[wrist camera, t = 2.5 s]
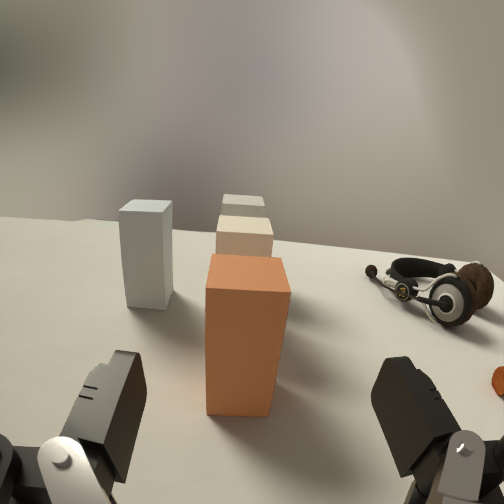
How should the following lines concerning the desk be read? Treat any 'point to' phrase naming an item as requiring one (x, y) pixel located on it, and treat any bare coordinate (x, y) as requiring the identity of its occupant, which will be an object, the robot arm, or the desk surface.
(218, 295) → the rust block
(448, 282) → the headset
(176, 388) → the desk surface
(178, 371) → the desk surface
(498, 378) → the purple maraca
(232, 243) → the cream block
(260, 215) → the grey block
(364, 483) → the desk surface
